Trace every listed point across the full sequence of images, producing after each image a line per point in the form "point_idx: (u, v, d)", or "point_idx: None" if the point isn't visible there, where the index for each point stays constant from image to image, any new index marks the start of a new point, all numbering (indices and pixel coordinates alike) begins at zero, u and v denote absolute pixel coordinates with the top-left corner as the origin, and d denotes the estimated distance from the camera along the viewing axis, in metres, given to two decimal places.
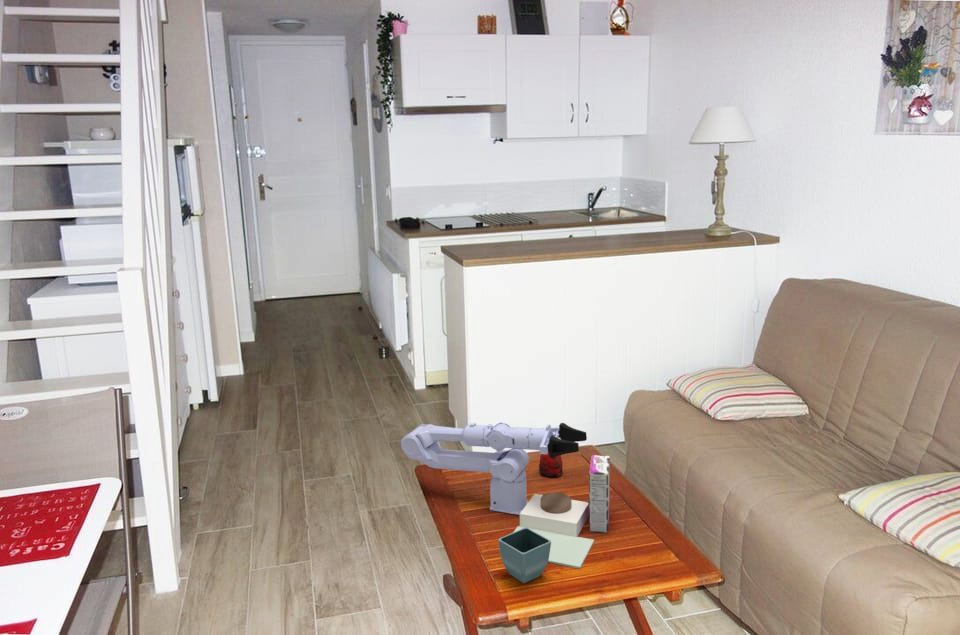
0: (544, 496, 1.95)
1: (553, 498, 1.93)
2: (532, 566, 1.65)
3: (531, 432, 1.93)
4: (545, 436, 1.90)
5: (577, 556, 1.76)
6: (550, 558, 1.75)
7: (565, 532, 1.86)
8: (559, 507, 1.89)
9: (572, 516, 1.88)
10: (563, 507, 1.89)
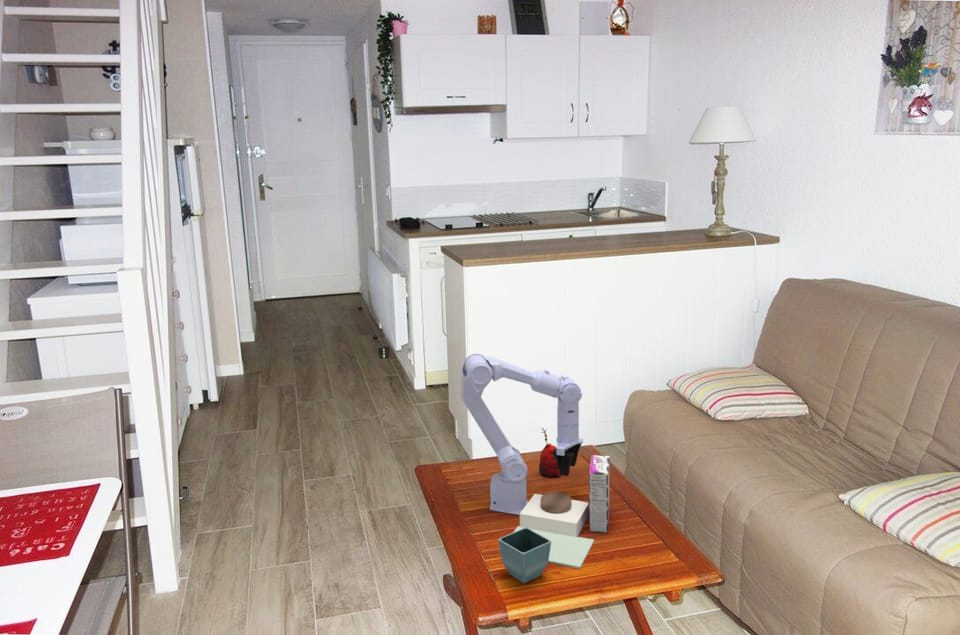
0: (544, 496, 1.95)
1: (553, 498, 1.93)
2: (532, 566, 1.65)
3: (575, 428, 1.97)
4: (572, 445, 1.96)
5: (577, 556, 1.76)
6: (550, 558, 1.75)
7: (565, 532, 1.86)
8: (559, 507, 1.89)
9: (572, 516, 1.88)
10: (563, 507, 1.89)
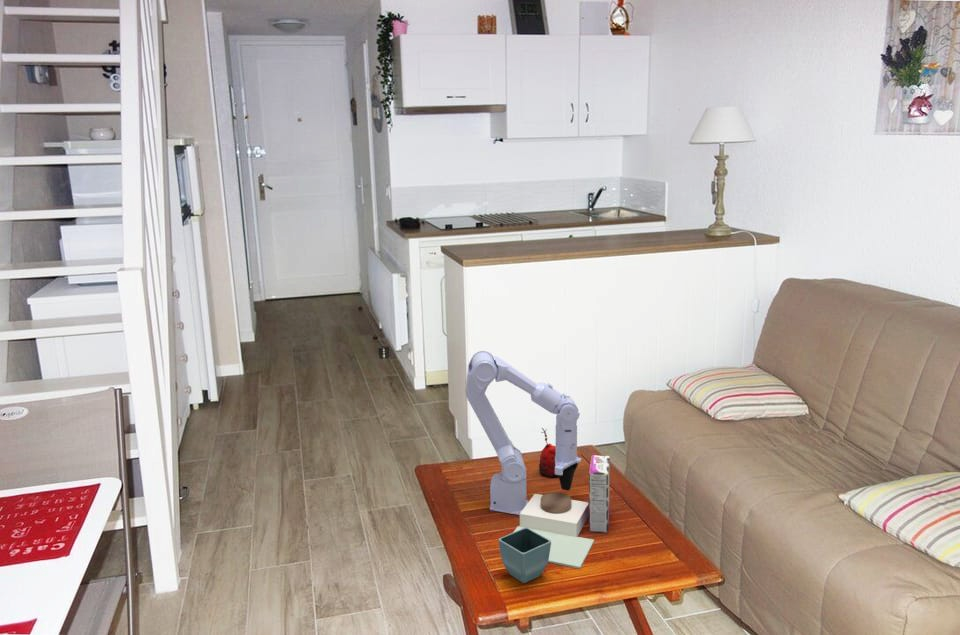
0: (544, 496, 1.95)
1: (553, 498, 1.93)
2: (532, 566, 1.65)
3: (573, 447, 1.96)
4: (570, 464, 1.96)
5: (577, 556, 1.76)
6: (550, 558, 1.75)
7: (565, 532, 1.86)
8: (559, 507, 1.89)
9: (572, 516, 1.88)
10: (563, 507, 1.89)
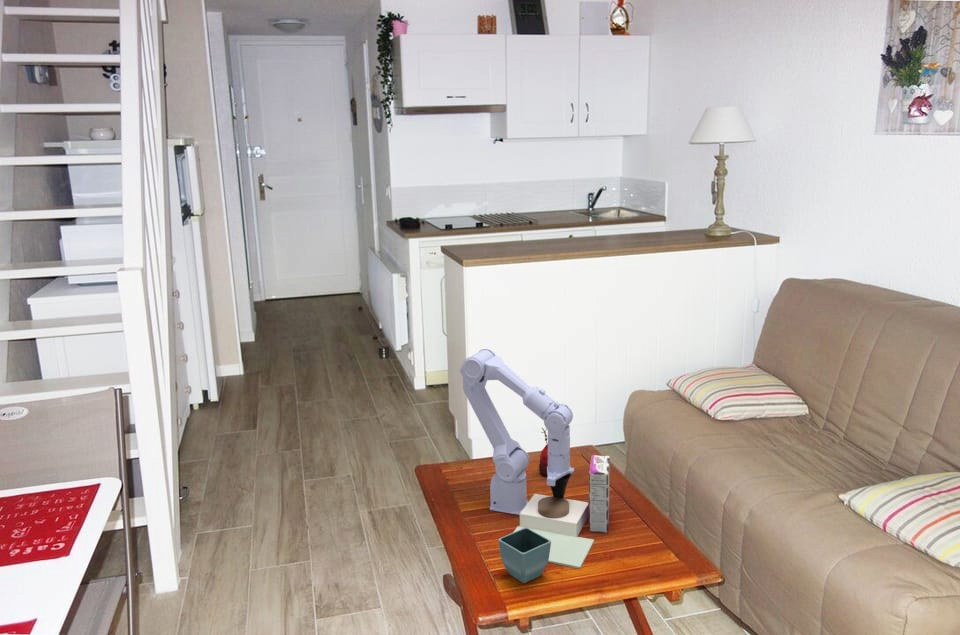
0: (541, 500, 1.92)
1: (550, 502, 1.91)
2: (532, 566, 1.65)
3: (565, 457, 1.90)
4: (563, 475, 1.90)
5: (577, 556, 1.76)
6: (550, 558, 1.75)
7: (565, 532, 1.86)
8: (557, 512, 1.87)
9: (572, 516, 1.88)
10: (561, 512, 1.87)
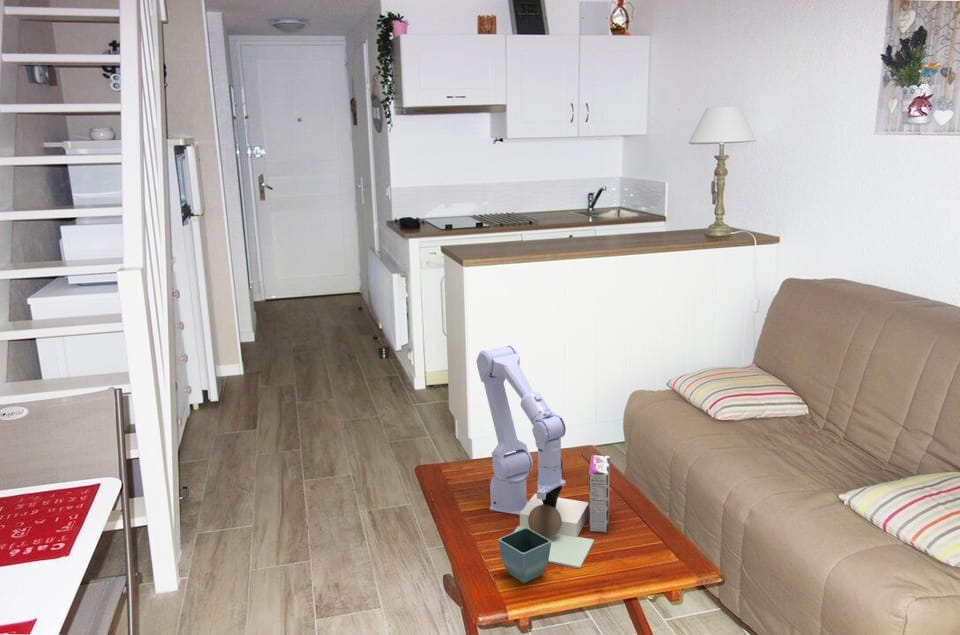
0: (531, 516, 1.85)
1: (541, 519, 1.84)
2: (532, 566, 1.65)
3: (556, 469, 1.83)
4: (554, 487, 1.82)
5: (577, 556, 1.76)
6: (550, 558, 1.75)
7: (565, 532, 1.86)
8: None
9: (572, 516, 1.88)
10: (554, 534, 1.83)
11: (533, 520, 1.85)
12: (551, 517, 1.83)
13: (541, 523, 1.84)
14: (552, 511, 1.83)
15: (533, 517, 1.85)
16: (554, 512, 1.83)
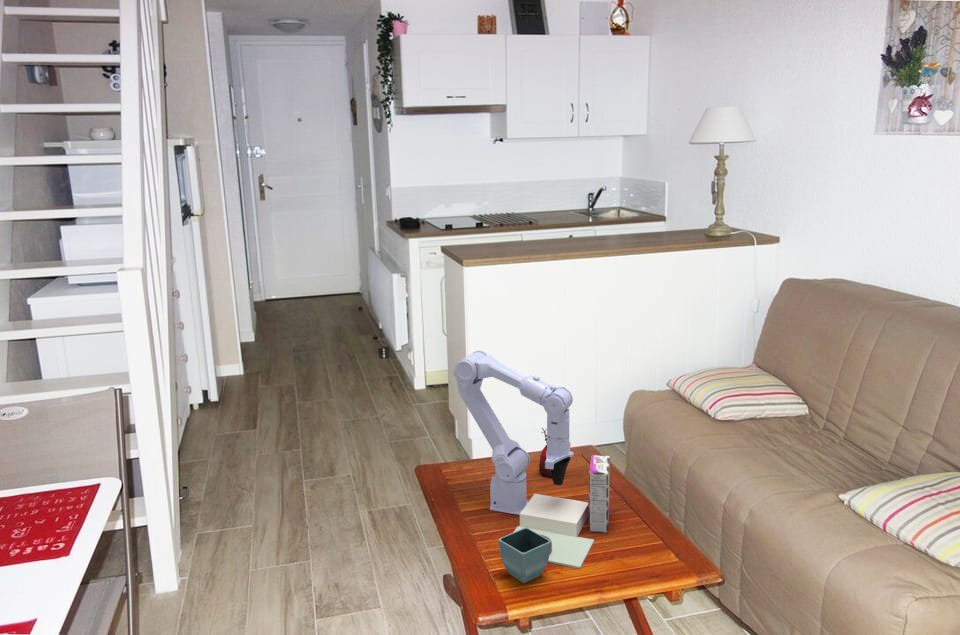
0: None
1: None
2: (532, 566, 1.65)
3: (565, 440, 1.89)
4: (562, 458, 1.88)
5: (577, 556, 1.76)
6: (550, 558, 1.75)
7: (565, 532, 1.86)
8: None
9: (572, 516, 1.88)
10: None
11: None
12: None
13: None
14: None
15: None
16: None
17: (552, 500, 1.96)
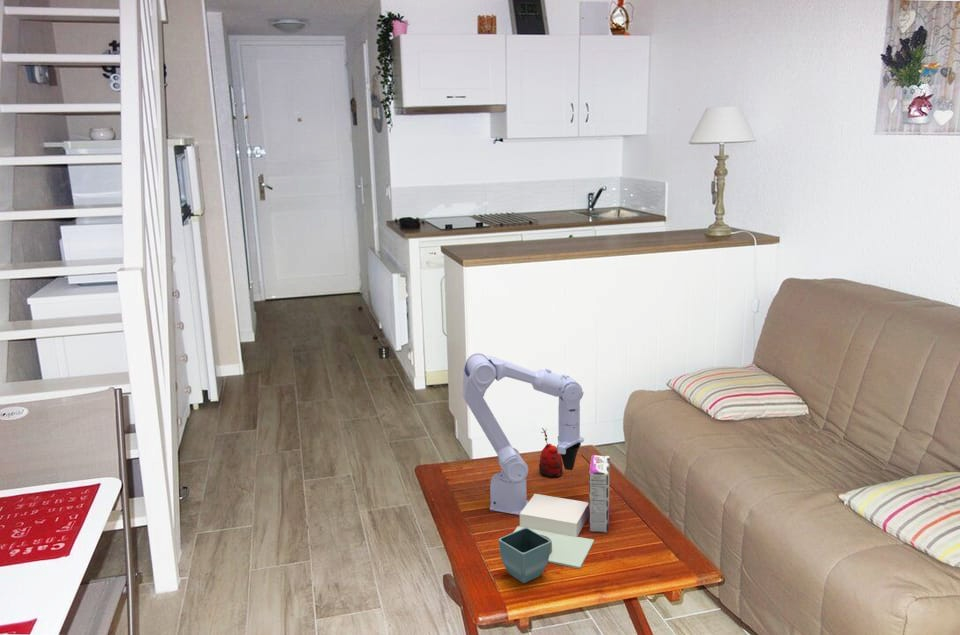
0: None
1: None
2: (532, 566, 1.65)
3: (576, 426, 1.98)
4: (573, 444, 1.97)
5: (577, 556, 1.76)
6: (550, 558, 1.75)
7: (565, 532, 1.86)
8: None
9: (572, 516, 1.88)
10: None
11: None
12: None
13: None
14: None
15: None
16: None
17: (552, 500, 1.96)
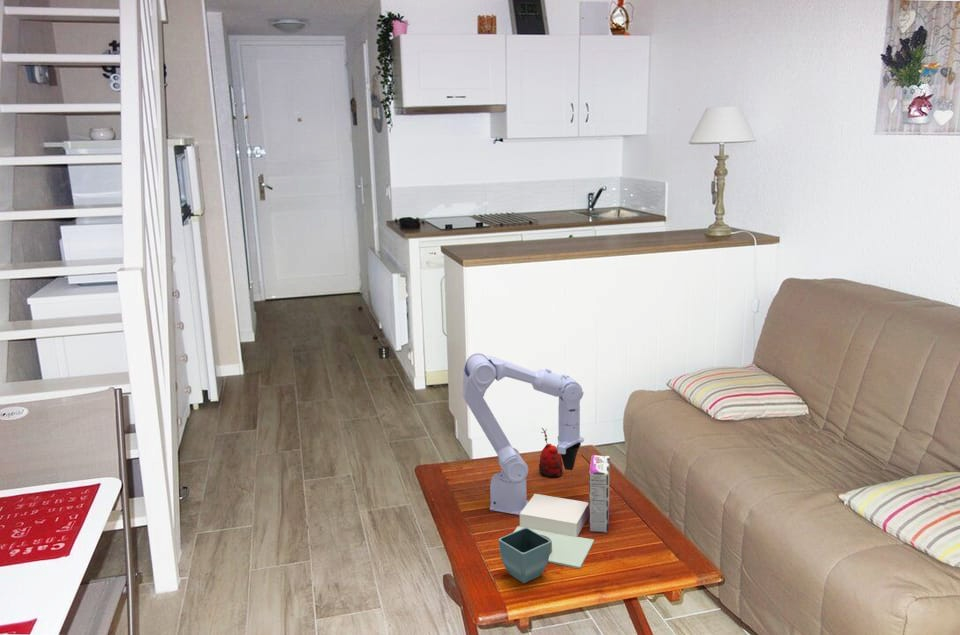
0: None
1: None
2: (532, 566, 1.65)
3: (576, 426, 1.98)
4: (573, 444, 1.97)
5: (577, 556, 1.76)
6: (550, 558, 1.75)
7: (565, 532, 1.86)
8: None
9: (572, 516, 1.88)
10: None
11: None
12: None
13: None
14: None
15: None
16: None
17: (552, 500, 1.96)
